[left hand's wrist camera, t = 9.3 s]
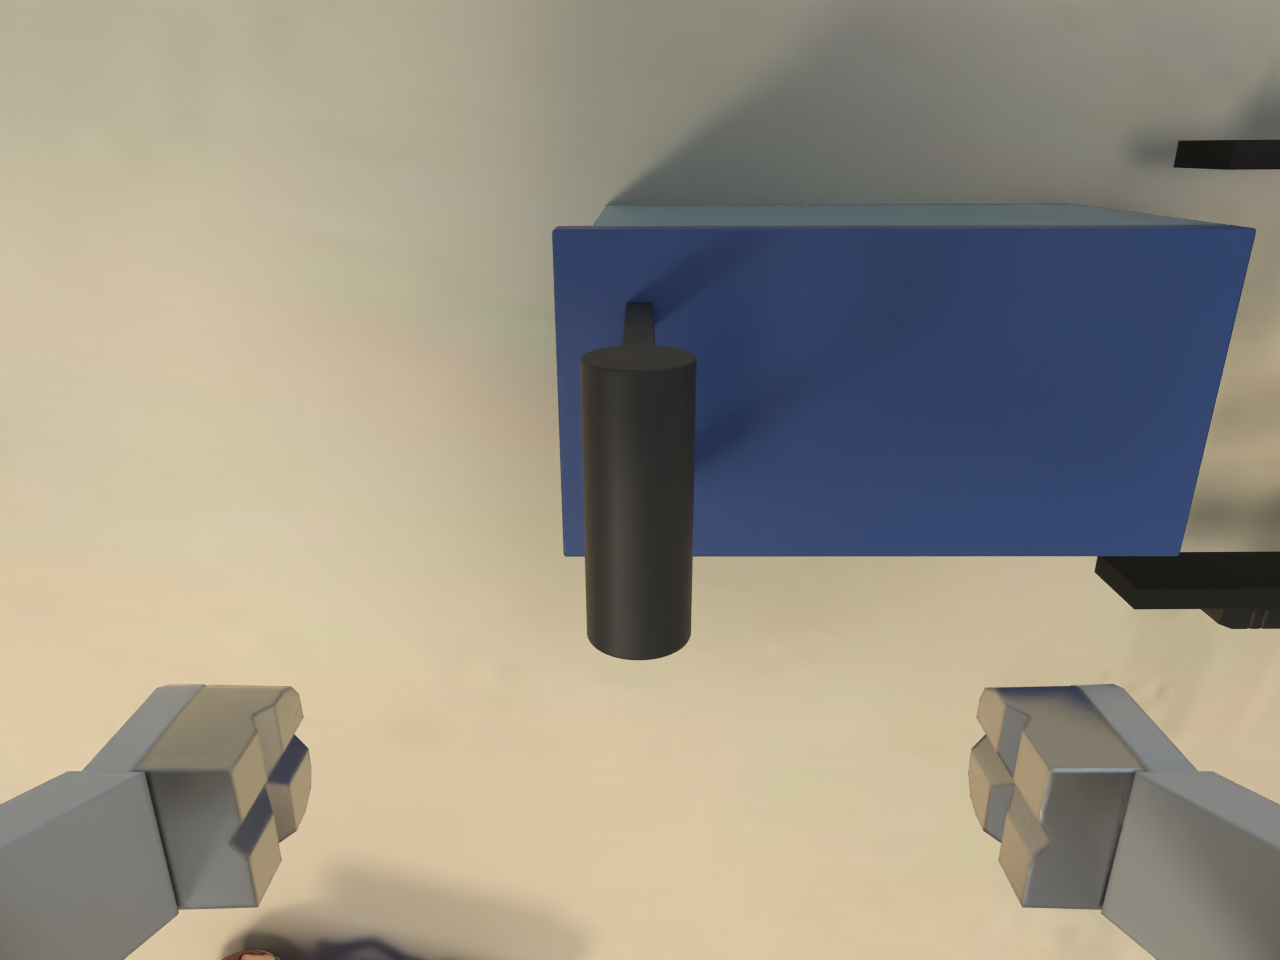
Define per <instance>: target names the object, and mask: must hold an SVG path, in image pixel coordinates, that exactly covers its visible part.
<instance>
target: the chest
mask: <svg viewBox="0 0 1280 960" xmlns="http://www.w3.org/2000/svg"><path fill="white" fill-rule="evenodd" d="M1043 225H1226V224H1218V223H1210V222H1203V221H1195V220H1188V219H1180V218H1173V217H1165V216H1157V215H1150V214H1142V213H1135V212H1127V211H1120V210H1112V209H1104V208H1097V207H1089V206H1082V205H1075V204H933V205H606V206H605V208H604V209H603V211H602V213H601V214H600V216H599V217H598V219H597V221H596V222H595V224H594V225H593V226H1043Z"/></svg>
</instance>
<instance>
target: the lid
mask: <svg viewBox="0 0 1280 960" xmlns="http://www.w3.org/2000/svg"><path fill="white" fill-rule="evenodd" d="M1255 233H1256V229H1254V228H1248V227H1241V226H1233V225H1043V226H558V227H556V228H555V229H554V230H553V232H552V241H553V268H554V296H555V324H556V352H557V380H558V408H559V436H560V463H561V491H562V519H563V547H564V555H565V556H585V571H586V609H587V635H588V638H589V640H590V642H591V644H592V645H593V646H594V647H595V648H596V649H598V650H599V651H601V652H603V653H605V654H607V655H610V656H613V657H617V658H621V659H628V660H650V659H656V658H661V657H665V656H668V655H670V654H673V653H675V652H677V651H678V650H680V649H681V648H682V647H684V646H685V645H686V643H687V642H688V640H689V638H690V635H691V602H692V556H1179V554H1180V549H1181V545H1182V541H1183V537H1184V533H1185V528H1186V524H1187V520H1188V516H1189V511H1190V507H1191V503H1192V499H1193V495H1194V490H1195V486H1196V482H1197V478H1198V474H1199V469H1200V465H1201V461H1202V457H1203V452H1204V448H1205V444H1206V440H1207V436H1208V431H1209V427H1210V423H1211V419H1212V415H1213V410H1214V406H1215V402H1216V398H1217V393H1218V389H1219V385H1220V381H1221V377H1222V372H1223V368H1224V364H1225V360H1226V356H1227V351H1228V347H1229V343H1230V339H1231V334H1232V330H1233V326H1234V322H1235V318H1236V313H1237V309H1238V305H1239V301H1240V296H1241V292H1242V288H1243V284H1244V280H1245V275H1246V271H1247V267H1248V263H1249V259H1250V254H1251V250H1252V246H1253V242H1254V237H1255Z"/></svg>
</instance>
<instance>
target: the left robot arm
mask: <svg viewBox="0 0 1280 960" xmlns="http://www.w3.org/2000/svg"><path fill="white" fill-rule="evenodd" d="M303 718H304V717H303V712H302V707H301V702H300V697H299V693H298V692H297V691H296V690H295V689H293V688H292V687H291V686H245V685H208V686H207V685H204V684H198V685H166V686H162V687H159V688H157V689H156V690H155V691H154V692H153V693H152V694H151V695H150V696H149V697H148V698H147V700H146V701H145V702H144V703H143V704H142V705H141V706H140V707H139V708H138V710H137V711H136V712H135V713H134V714H133V715H132V716H131V717H130V718H129V720H128V721H127V722H126V723H125V724H124V725H123V726H122V727H121V728H120V729H119V731H118V732H117V733H116V734H115V735H114V736H113V737H112V738H111V739H110V741H109V742H108V743H107V744H106V745H105V746H104V747H103V748H102V749H101V751H100V752H99V753H98V754H97V755H96V756H95V757H94V758H93V759H92V761H91V762H90V763H89V764H88V765H87V766H86V767H85V768H84V769H83V770H82V771H78V772H66V773H64V774H62V775H60V776H58V777H56V778H54V779H51V780H49V781H47V782H45V783H43V784H41V785H39V786H37V787H35V788H33V789H31V790H29V791H27V792H25V793H23V794H21V795H19V796H17V797H15V798H13V799H11V800H9V801H7V802H5V803H3V804H1V805H0V960H124V959H125V958H126V957H127V956H128V955H130V954H131V953H132V952H133V951H134V950H136V949H137V948H138V947H139V946H140V945H142V944H143V943H144V942H145V941H147V940H148V939H149V938H150V937H151V936H153V935H154V934H155V933H156V932H157V931H159V930H160V929H161V928H162V927H163V926H165V925H166V924H167V923H168V922H169V921H171V920H172V919H173V918H174V917H175V916H177V915H178V913H179V912H178V910H180V909H214V908H249V907H258V906H259V904H260V902H261V900H262V898H263V896H264V894H265V892H266V890H267V888H268V886H269V884H270V882H271V880H272V878H273V876H274V874H275V872H276V870H277V868H278V866H279V865H280V863H281V861H282V860H281V854H280V848H279V843H280V842H281V841H283V840H284V839H285V838H287V837H288V836H290V835H291V834H293V833H294V832H295V831H297V829H298V827H299V824H300V822H301V820H302V818H303V816H304V814H305V812H306V807H307V803H308V798H309V794H310V789H311V761H310V754H309V749H308V748H307V747H306V746H305V745H304V744H303V743H302V742H301V741H300V740H299V739H298V738H297V737H296V736H295V735H294V733H295V732H296V730H297V728H298V726H299V725H300V723H301V721H302V719H303ZM976 718H977V719H978V721H979V723H980V725H981V726H982V728H983V730H984V731H985V733H986V735H985V736H984V737H983V738H982V739H981V740H980V741H979V742H978V743H977V744H976V745H975V746H974V747H973V748H972V749H971V756H970V764H969V772H968V775H969V786H970V797H971V800H972V804H973V807H974V810H975V814H976V816H977V818H978V820H979V822H980V824H981V827H982V829H983V831H985V832H986V833H987V834H989V835H990V836H992V837H993V838H995V839H996V840H997V841H999V842H1000V843H1001V848H1000V854H999V860H998V861H999V863H1000V865H1001V866H1002V868H1003V870H1004V872H1005V874H1006V876H1007V878H1008V880H1009V882H1010V884H1011V886H1012V888H1013V890H1014V892H1015V894H1016V896H1017V898H1018V900H1019V902H1020V904H1021V906H1022V907H1029V908H1065V909H1100V910H1102V911H1101V914H1103V915H1104V916H1105V917H1106V918H1107V919H1109V920H1110V921H1111V922H1112V923H1113V924H1115V925H1116V926H1117V927H1118V928H1119V929H1121V930H1122V931H1123V932H1124V933H1125V934H1127V935H1128V936H1129V937H1130V938H1131V939H1133V940H1134V941H1135V942H1136V943H1137V944H1139V945H1140V946H1141V947H1142V948H1143V949H1145V950H1146V951H1147V952H1148V953H1149V954H1151V955H1152V956H1153V957H1154V958H1155V959H1157V960H1280V805H1279V804H1277V803H1275V802H1273V801H1271V800H1269V799H1267V798H1265V797H1263V796H1261V795H1259V794H1257V793H1255V792H1253V791H1251V790H1249V789H1247V788H1245V787H1243V786H1241V785H1239V784H1237V783H1235V782H1233V781H1231V780H1228V779H1226V778H1224V777H1222V776H1220V775H1218V774H1216V773H1214V772H1202V771H1198V770H1197V769H1196V768H1195V767H1194V766H1193V765H1192V764H1191V763H1190V762H1189V761H1188V759H1187V758H1186V757H1185V756H1184V755H1183V754H1182V753H1181V752H1180V751H1179V749H1178V748H1177V747H1176V746H1175V745H1174V744H1173V743H1172V742H1171V741H1170V739H1169V738H1168V737H1167V736H1166V735H1165V734H1164V733H1163V732H1162V731H1161V729H1160V728H1159V727H1158V726H1157V725H1156V724H1155V723H1154V722H1153V721H1152V720H1151V718H1150V717H1149V716H1148V715H1147V714H1146V713H1145V712H1144V711H1143V710H1142V708H1141V707H1140V706H1139V705H1138V704H1137V703H1136V702H1135V701H1134V700H1133V698H1132V697H1131V696H1130V695H1129V694H1128V693H1127V692H1126V691H1125V690H1124V689H1123V688H1121V687H1119V686H1116V685H1114V684H1098V685H1071V686H1051V687H997V688H985V689H984V691H983V693H982V695H981V697H980V700H979V706H978V711H977V717H976Z"/></svg>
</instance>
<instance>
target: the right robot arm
mask: <svg viewBox="0 0 1280 960" xmlns="http://www.w3.org/2000/svg"><path fill="white" fill-rule="evenodd" d="M1174 167H1177V168H1202V169H1228V170H1237V169H1280V140H1202V141H1179V142H1178V147H1177V152H1176V157H1175V162H1174ZM1095 573H1096V574H1097V575H1098V576H1099V577H1100V578H1102V579H1103V580H1104V581H1105V582H1106V583H1107V584H1108V585H1109V586H1110V587H1111V588H1112V589H1113V590H1114V591H1115V592H1116V593H1118V594H1119V595H1120V596H1121V597H1122V598H1123V599H1124V600H1125V601H1126V602H1127V603H1128V604H1129V605H1130V606H1131V607H1133V608H1134V609H1201V610H1202V611H1203V612H1205V613H1206V614H1207V615H1208V616H1210V617H1211V618H1212V619H1213V620H1214V621H1216V622H1217V623H1218V624H1220V625H1223V626H1226V627H1228V628H1231V629H1247V628H1250V629H1259V628H1262V629H1278V628H1280V552H1180V554H1179V556H1098V557H1097V562H1096V567H1095Z"/></svg>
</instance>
